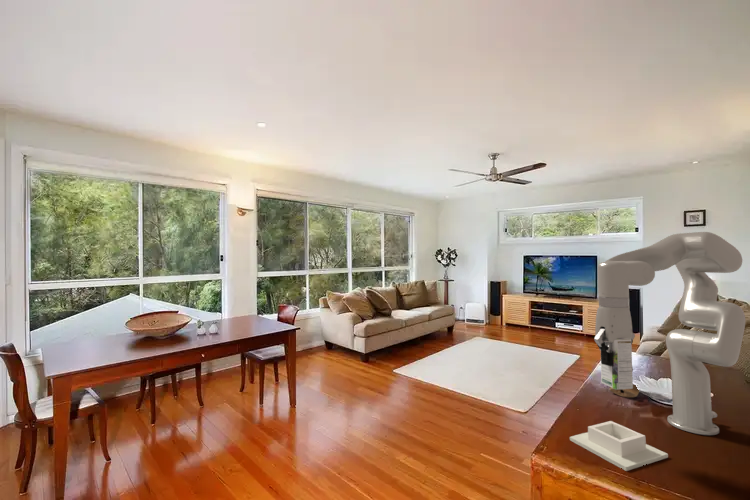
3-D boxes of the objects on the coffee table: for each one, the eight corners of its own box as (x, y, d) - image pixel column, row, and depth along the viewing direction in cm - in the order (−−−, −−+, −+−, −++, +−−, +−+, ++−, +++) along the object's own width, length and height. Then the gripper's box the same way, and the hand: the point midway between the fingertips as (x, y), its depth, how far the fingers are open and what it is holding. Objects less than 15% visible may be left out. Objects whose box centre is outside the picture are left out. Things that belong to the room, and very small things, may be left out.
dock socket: (608, 430, 112) (607, 414, 112) (668, 457, 96) (667, 439, 97) (569, 440, 106) (569, 423, 107) (626, 471, 91) (625, 451, 91)
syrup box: (600, 383, 104) (598, 335, 105) (618, 382, 105) (616, 334, 105) (615, 390, 99) (613, 339, 99) (634, 389, 99) (632, 338, 100)
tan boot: (608, 383, 154) (607, 349, 154) (642, 390, 146) (640, 354, 146) (601, 393, 143) (600, 357, 143) (637, 401, 135) (635, 362, 135)
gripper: (620, 300, 109) (622, 357, 109) (581, 303, 103) (583, 363, 103) (646, 303, 102) (648, 363, 102) (605, 306, 96) (607, 370, 96)
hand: (615, 363), depth 102 cm, fingers closed on syrup box, 6 cm apart
